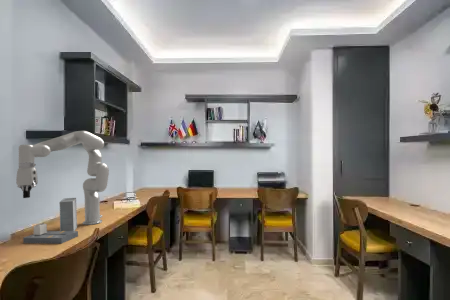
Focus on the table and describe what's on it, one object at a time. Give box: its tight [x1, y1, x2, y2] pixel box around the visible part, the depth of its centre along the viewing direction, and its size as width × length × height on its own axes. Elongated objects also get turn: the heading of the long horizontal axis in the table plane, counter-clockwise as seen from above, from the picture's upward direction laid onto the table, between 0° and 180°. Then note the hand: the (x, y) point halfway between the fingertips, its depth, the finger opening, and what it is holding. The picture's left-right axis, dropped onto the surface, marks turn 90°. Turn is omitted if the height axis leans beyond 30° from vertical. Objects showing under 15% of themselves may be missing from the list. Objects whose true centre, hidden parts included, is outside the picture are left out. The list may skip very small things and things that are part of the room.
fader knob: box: [33, 222, 48, 235], centre depth 164 cm, size 5×4×5 cm
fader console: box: [22, 230, 79, 244], centre depth 163 cm, size 14×23×3 cm, turn 83°
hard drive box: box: [59, 197, 78, 231], centre depth 183 cm, size 16×8×20 cm, turn 21°
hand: (26, 197), depth 165 cm, fingers closed
